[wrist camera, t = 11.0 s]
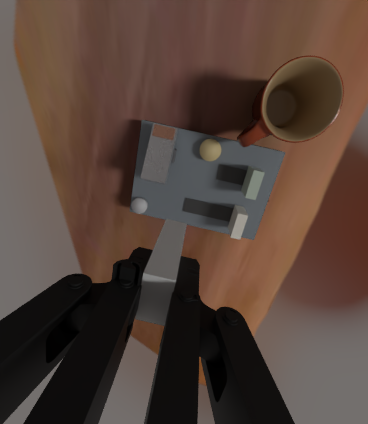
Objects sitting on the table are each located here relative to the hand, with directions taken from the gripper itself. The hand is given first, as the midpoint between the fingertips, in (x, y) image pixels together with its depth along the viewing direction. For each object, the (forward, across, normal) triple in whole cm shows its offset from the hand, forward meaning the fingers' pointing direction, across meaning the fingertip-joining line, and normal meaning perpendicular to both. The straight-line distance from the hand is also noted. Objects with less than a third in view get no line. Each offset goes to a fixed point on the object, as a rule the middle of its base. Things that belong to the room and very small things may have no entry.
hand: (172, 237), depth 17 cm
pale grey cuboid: (+21, +9, -4) cm, 23 cm away
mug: (+25, +9, +12) cm, 29 cm away
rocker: (+18, -5, +3) cm, 19 cm away
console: (+24, +2, 0) cm, 24 cm away
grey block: (+21, +9, +2) cm, 23 cm away
